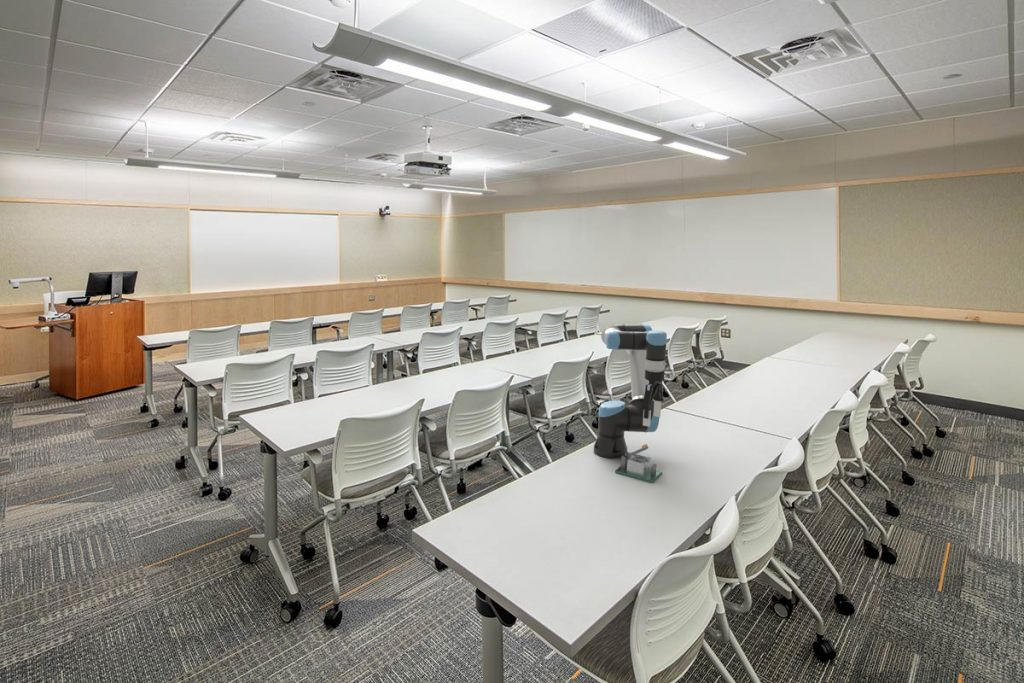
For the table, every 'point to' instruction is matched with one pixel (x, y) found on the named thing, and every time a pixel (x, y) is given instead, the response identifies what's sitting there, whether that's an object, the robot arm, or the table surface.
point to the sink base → (638, 468)
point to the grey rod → (637, 451)
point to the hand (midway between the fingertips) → (651, 420)
